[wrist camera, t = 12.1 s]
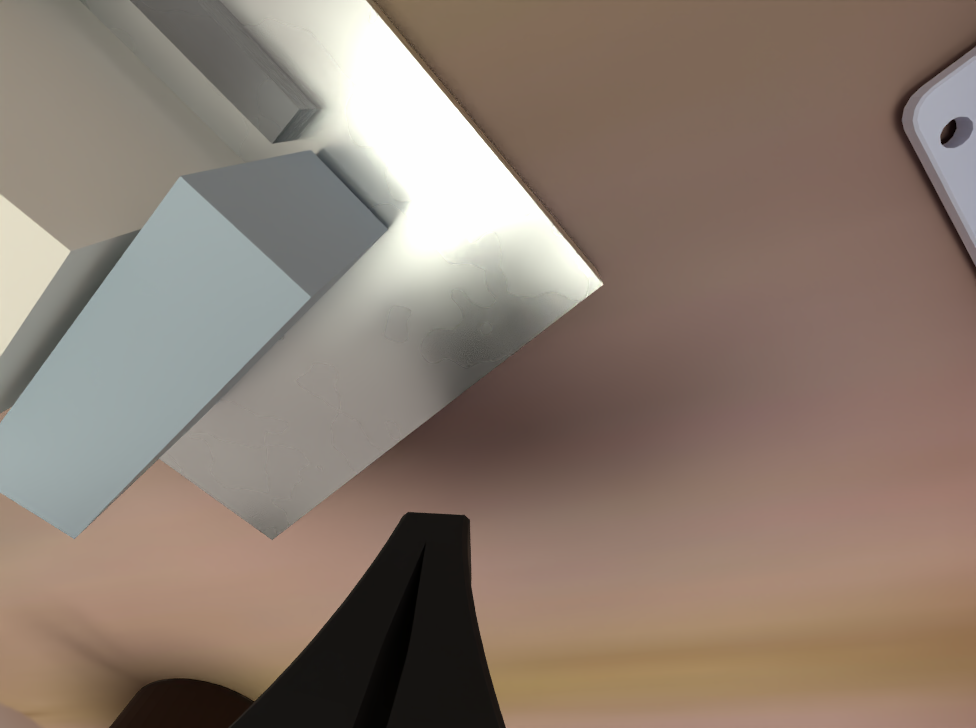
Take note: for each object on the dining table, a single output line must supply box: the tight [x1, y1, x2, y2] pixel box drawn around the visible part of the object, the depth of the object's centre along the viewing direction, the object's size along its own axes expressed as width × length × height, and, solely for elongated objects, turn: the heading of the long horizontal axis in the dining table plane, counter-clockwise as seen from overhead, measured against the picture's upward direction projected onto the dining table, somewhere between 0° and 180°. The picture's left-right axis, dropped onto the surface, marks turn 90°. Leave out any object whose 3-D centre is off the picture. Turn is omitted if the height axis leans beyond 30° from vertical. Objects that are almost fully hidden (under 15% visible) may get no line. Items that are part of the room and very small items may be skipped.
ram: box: [0, 150, 388, 539], centre depth 9 cm, size 2×7×4 cm, turn 132°
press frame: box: [80, 0, 603, 540], centre depth 10 cm, size 14×12×3 cm
